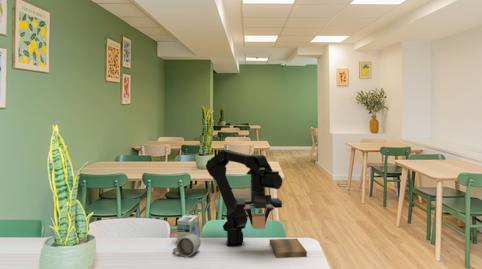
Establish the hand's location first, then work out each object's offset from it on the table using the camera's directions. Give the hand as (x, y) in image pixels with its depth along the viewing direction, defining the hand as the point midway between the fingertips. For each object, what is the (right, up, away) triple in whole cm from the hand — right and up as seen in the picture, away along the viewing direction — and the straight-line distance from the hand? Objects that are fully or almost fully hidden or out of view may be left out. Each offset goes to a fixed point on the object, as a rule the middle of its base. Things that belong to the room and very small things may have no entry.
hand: (258, 224), depth 148 cm
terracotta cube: (0, -1, 0) cm, 1 cm away
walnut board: (+12, -11, +1) cm, 16 cm away
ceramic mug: (-29, -12, -2) cm, 31 cm away
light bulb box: (-30, -11, +13) cm, 35 cm away
